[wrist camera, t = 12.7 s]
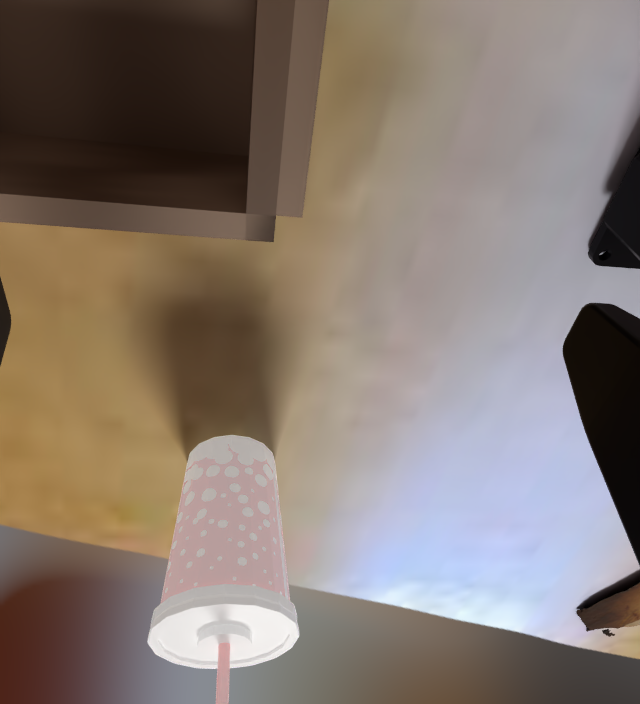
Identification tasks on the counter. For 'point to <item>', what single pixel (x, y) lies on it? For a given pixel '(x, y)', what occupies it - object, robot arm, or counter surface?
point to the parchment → (614, 611)
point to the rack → (158, 113)
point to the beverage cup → (226, 565)
